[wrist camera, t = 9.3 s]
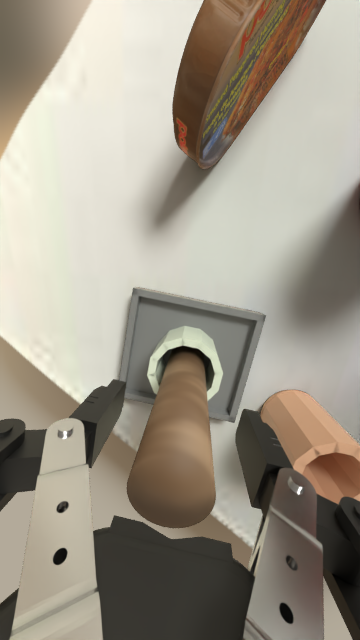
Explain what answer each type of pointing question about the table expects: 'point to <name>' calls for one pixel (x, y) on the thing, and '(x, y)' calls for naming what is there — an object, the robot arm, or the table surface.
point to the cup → (315, 444)
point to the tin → (233, 68)
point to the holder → (190, 339)
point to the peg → (176, 448)
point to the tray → (231, 345)
